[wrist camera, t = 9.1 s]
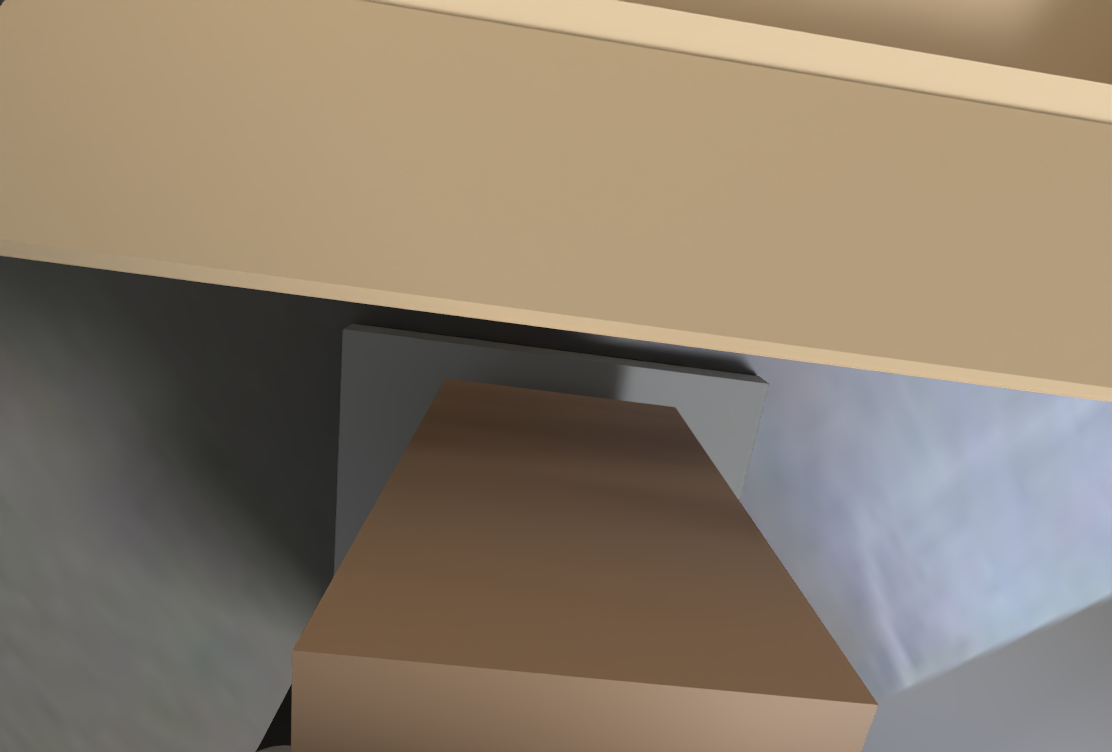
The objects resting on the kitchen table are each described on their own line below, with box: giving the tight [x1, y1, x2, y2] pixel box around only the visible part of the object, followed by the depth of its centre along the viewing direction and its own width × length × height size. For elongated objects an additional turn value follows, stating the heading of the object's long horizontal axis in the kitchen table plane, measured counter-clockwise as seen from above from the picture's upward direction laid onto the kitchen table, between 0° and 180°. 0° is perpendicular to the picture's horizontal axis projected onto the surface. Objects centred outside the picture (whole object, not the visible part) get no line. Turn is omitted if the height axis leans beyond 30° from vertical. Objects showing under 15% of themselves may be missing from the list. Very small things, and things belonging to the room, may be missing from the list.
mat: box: [334, 324, 769, 575], centre depth 14 cm, size 10×9×1 cm
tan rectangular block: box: [291, 378, 878, 752], centre depth 9 cm, size 9×4×7 cm, turn 172°
